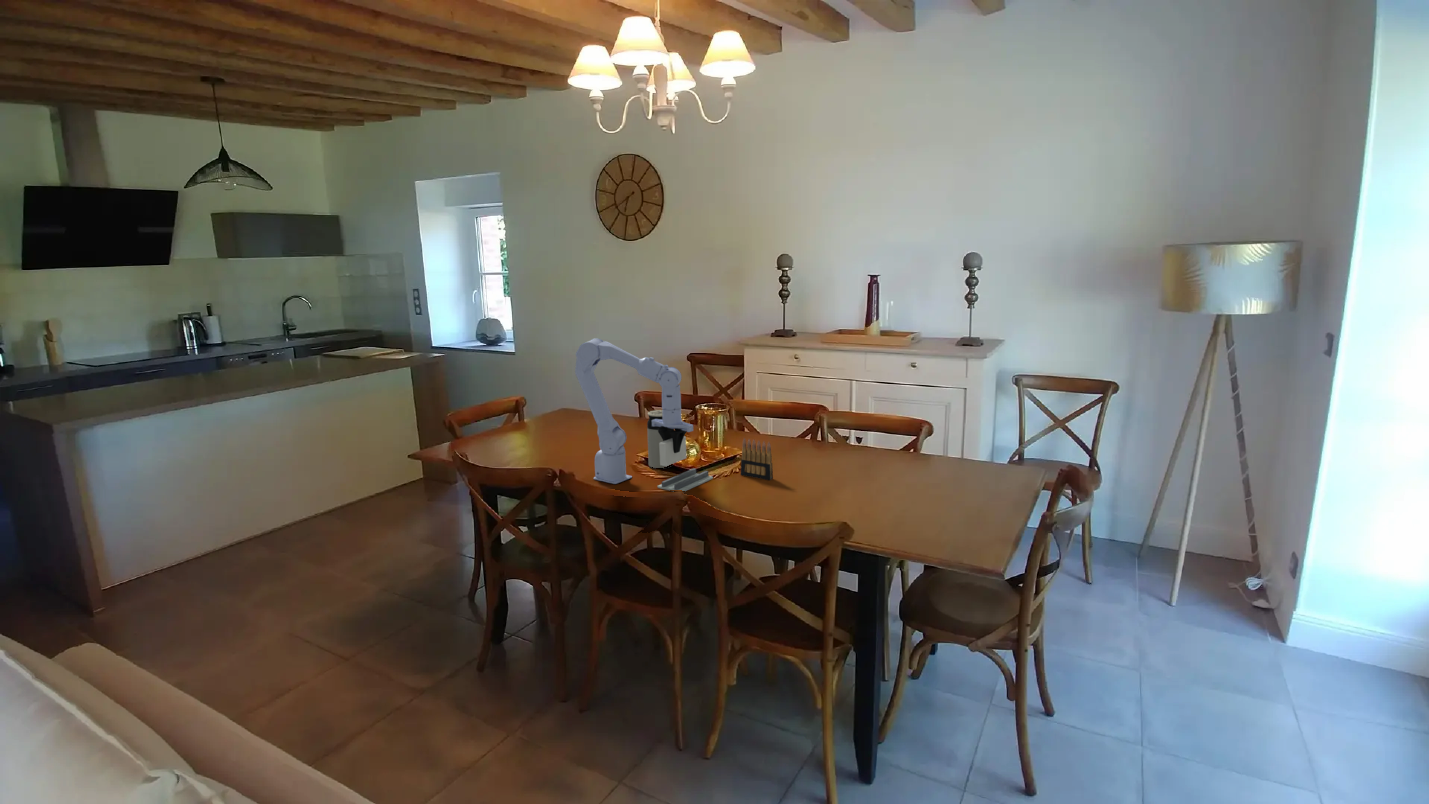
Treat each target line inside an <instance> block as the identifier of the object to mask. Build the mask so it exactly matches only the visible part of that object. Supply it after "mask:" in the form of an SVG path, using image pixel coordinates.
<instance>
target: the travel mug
mask: <svg viewBox="0 0 1429 804" xmlns="http://www.w3.org/2000/svg"><path fill="white" fill-rule="evenodd" d="M647 415H648V420H647V424H646V427H647V453H648V455H647V457H648V466H649V467H650V468H652V467H653V468H652V469H656V468H663V469H665V468H664V467H667V466H662V465H660V450H659V443H660V442H663V439H662V437H661V436H660V434H659V433H658V430H659V429H660V428H661V427H658V426H652V420H654V419H662V420H663V417H662V410H661V409H659V410H658V409H657V410H650V411H648V412H647Z"/></svg>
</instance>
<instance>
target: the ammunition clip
mask: <svg viewBox="0 0 1429 804" xmlns="http://www.w3.org/2000/svg"><path fill="white" fill-rule="evenodd" d="M761 445H762V446H761ZM741 449H742V450H741V461H740V476H743V475H744V477H749V478H750V477H751V478H753V479H754V478H755V479H760V480H765V481H772V480H773V478H774V474H773V471H774V470H773V462H772V447H771V443H770V441H768V442H767V445H766V441H765V440H763V442H762V444H761V441H760V440H757V442H756V440H755V439H752V443H751V439H750V438H748V440H746V437H743V440H742V447H741Z"/></svg>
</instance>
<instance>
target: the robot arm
mask: <svg viewBox="0 0 1429 804" xmlns="http://www.w3.org/2000/svg"><path fill="white" fill-rule="evenodd" d="M575 357H576V361H575V366H574V367H575V369H574V374H575V376H576V378H577V381H578V383H579V385H580V387H581V391H582V392H583V395H584V398H585V399H586V402H587V404H588V406H589V409H590V410H591V413H592V416H593V419H594V421H595V423H596V425H597V433H596V434H597V437H598V447H599V449H600V450H598V451H597V452H596V454H595V455H594V474H595V475H594V477H593V480H595V481H600V482H604V483H608V484H613V485H617V484H619V483H622V482H624V481H627V480H629V479H632V478H633V476H632V475H629V474H627V465H626V463H627V462H626V449H625V447H624V445H625V444H626V441H627V433H626V432H625V430H624V429H622V428H621V426H620V425H619V423H618V421H617V420H615V419H614V417H613V414H612V412H611V410H610V407H609V405H608V403H607V400H606V398H605V395H604V393H603V391H602V388H601V386H600V384H599V382H598V380H597V377H596V375H595V370H596V368H597V366H598V363H599V362H600V361H604V360H614V361H616V362H619V363H622V364H624V365H626V366H629V367H631V368H633V369H636V372H637V374H638V375H639V376H642V377H644V378H645V379H648V380H650V381H652V382H654V383H657V384H659V386H660V387H661V409H662V417H663V420H662V419H654V420H652V426H658V427H661V428H660V429H659V430H658V433H659V434H660V436H661V437H662V439H663V441H666V440H668V439H671V438H672V440H673V450H674V453H678V452H680V448H681V443H682V440H683V438H684V436H685V435H686V433H691V432H694V424H691V423H688V422H685V421H683V419H682V394H681V385H680V383H681V381H682V373H681V372H680V370H679V369H678V368H676V367H675V366H670V367H669V365H668V364H663V363H660V362H659V361H656V360H655V357H652V356H650V357H643V358H639V357H638V356H636V355H634V354H632V353H630V352H628V351H626V350H624V348H623V349H622V348H621V347H619V346H617V345H615V344H613V343H611V342H609V341H606V340H603V339H601V338H597V337H595V338H592V339H590V340H588V341H586V342H583V343H581V344H580V345H579V347H578V348H577V351H576V352H575Z"/></svg>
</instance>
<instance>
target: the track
mask: <svg viewBox="0 0 1429 804" xmlns="http://www.w3.org/2000/svg"><path fill="white" fill-rule="evenodd" d="M713 479H714V477H713V476H711V475H709V470H704V471H702V472H699V473H697V468H691V469H688V470H687V471H684V472H682V473H681V472H680V473H679V474H677V475H674V476H673V477H670V478H667V479H666V480H663V481H661V484H659V485H658V484H657V489H662V490H664V491H665V490H666V491H670V490H682V491H685V492H686V491H689V490H691V489H693V488H695V487H698V486H700V485H703V484H705V483H706V482H709V481H710V480H713Z"/></svg>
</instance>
